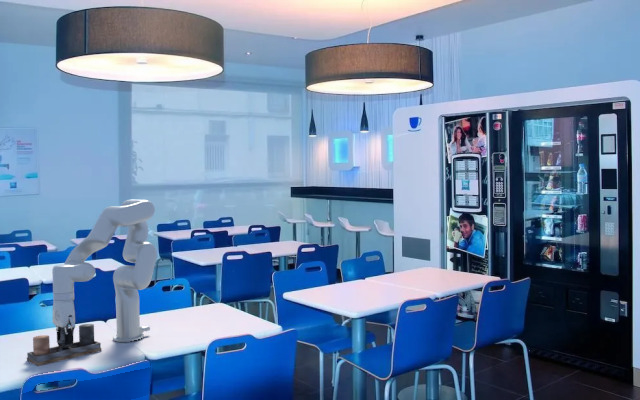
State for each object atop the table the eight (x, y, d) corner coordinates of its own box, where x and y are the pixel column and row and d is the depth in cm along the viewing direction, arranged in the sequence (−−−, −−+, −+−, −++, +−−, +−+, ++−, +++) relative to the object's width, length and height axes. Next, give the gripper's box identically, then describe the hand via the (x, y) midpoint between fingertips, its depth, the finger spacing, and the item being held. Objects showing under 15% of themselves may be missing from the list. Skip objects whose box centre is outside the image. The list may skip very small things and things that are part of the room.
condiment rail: (89, 346, 249) (88, 322, 249) (101, 351, 243) (100, 325, 242) (26, 360, 231) (26, 334, 230) (38, 366, 224) (37, 338, 224)
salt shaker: (74, 350, 235) (73, 320, 235) (57, 352, 233) (56, 321, 232) (72, 346, 241) (71, 317, 240) (56, 349, 238) (55, 318, 237)
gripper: (44, 295, 239) (45, 340, 240) (64, 301, 227) (66, 348, 228) (63, 292, 244) (64, 336, 245) (83, 297, 233) (85, 344, 234)
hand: (65, 341), depth 237 cm, fingers closed on salt shaker, 5 cm apart
